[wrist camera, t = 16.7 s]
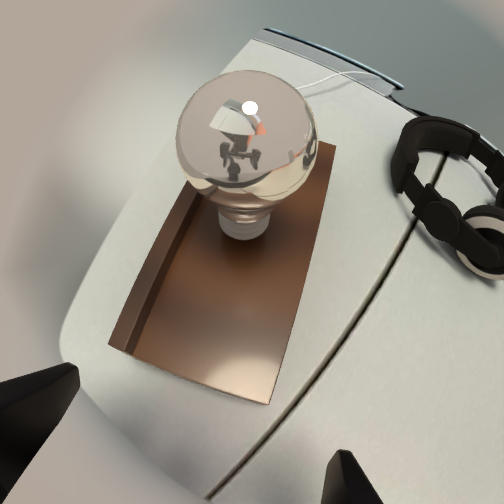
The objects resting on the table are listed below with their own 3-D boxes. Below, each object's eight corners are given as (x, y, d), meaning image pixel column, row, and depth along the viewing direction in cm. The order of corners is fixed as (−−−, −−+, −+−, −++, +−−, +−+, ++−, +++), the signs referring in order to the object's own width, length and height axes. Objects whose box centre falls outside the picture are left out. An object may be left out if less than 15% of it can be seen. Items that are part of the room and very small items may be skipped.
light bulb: (312, 244, 22) (366, 104, 11) (225, 293, 20) (213, 158, 9) (258, 177, 25) (270, 37, 14) (177, 215, 23) (143, 71, 12)
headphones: (529, 277, 17) (368, 116, 26) (478, 319, 23) (352, 176, 33) (567, 203, 21) (454, 97, 31) (535, 242, 28) (437, 141, 37)
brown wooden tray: (263, 405, 21) (271, 405, 16) (135, 358, 22) (107, 344, 17) (326, 173, 30) (340, 133, 26) (231, 148, 31) (231, 106, 27)
